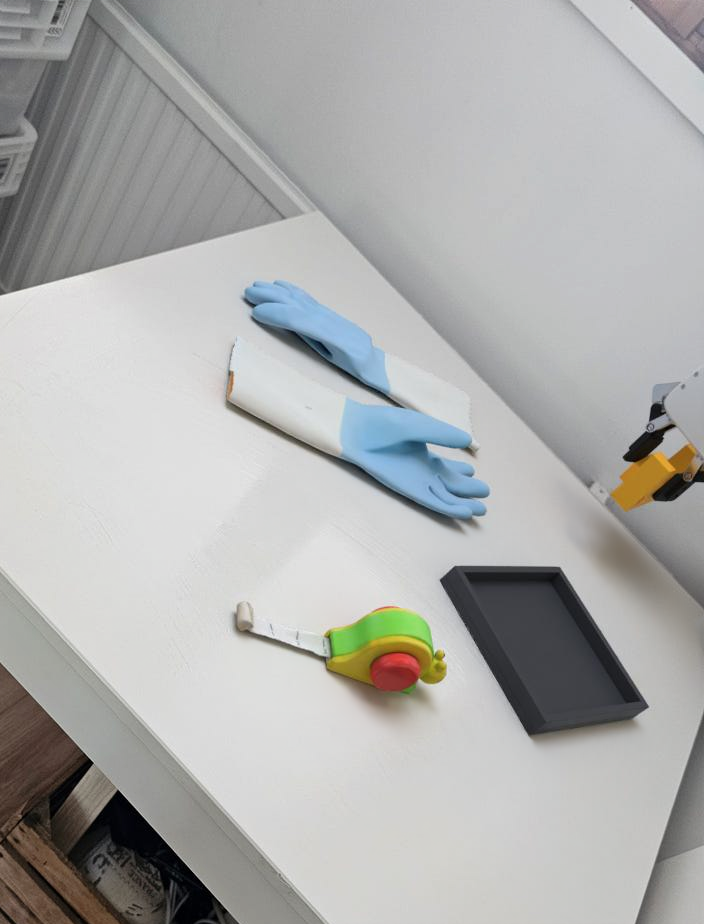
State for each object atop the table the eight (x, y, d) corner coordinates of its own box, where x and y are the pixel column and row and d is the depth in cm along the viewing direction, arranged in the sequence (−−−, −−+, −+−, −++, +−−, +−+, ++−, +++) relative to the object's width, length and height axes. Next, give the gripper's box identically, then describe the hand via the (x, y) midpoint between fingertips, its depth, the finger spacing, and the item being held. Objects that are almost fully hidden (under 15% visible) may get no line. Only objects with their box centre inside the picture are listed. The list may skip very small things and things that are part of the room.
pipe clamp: (640, 469, 125) (681, 431, 121) (664, 496, 124) (707, 459, 120) (599, 483, 117) (642, 442, 113) (625, 511, 116) (669, 472, 112)
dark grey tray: (544, 579, 112) (560, 566, 111) (632, 718, 105) (649, 707, 104) (439, 579, 101) (454, 565, 100) (528, 735, 94) (546, 722, 93)
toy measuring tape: (430, 719, 88) (481, 678, 84) (232, 649, 80) (278, 599, 76) (420, 661, 92) (468, 618, 88) (231, 588, 84) (274, 538, 80)
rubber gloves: (241, 265, 118) (271, 219, 114) (467, 400, 128) (502, 361, 124) (222, 404, 99) (257, 355, 95) (487, 548, 110) (530, 509, 106)
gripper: (843, 424, 106) (704, 537, 118) (743, 310, 113) (621, 428, 125) (811, 417, 102) (669, 536, 113) (709, 299, 109) (586, 423, 121)
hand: (645, 478), depth 119 cm, fingers closed on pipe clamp, 5 cm apart
